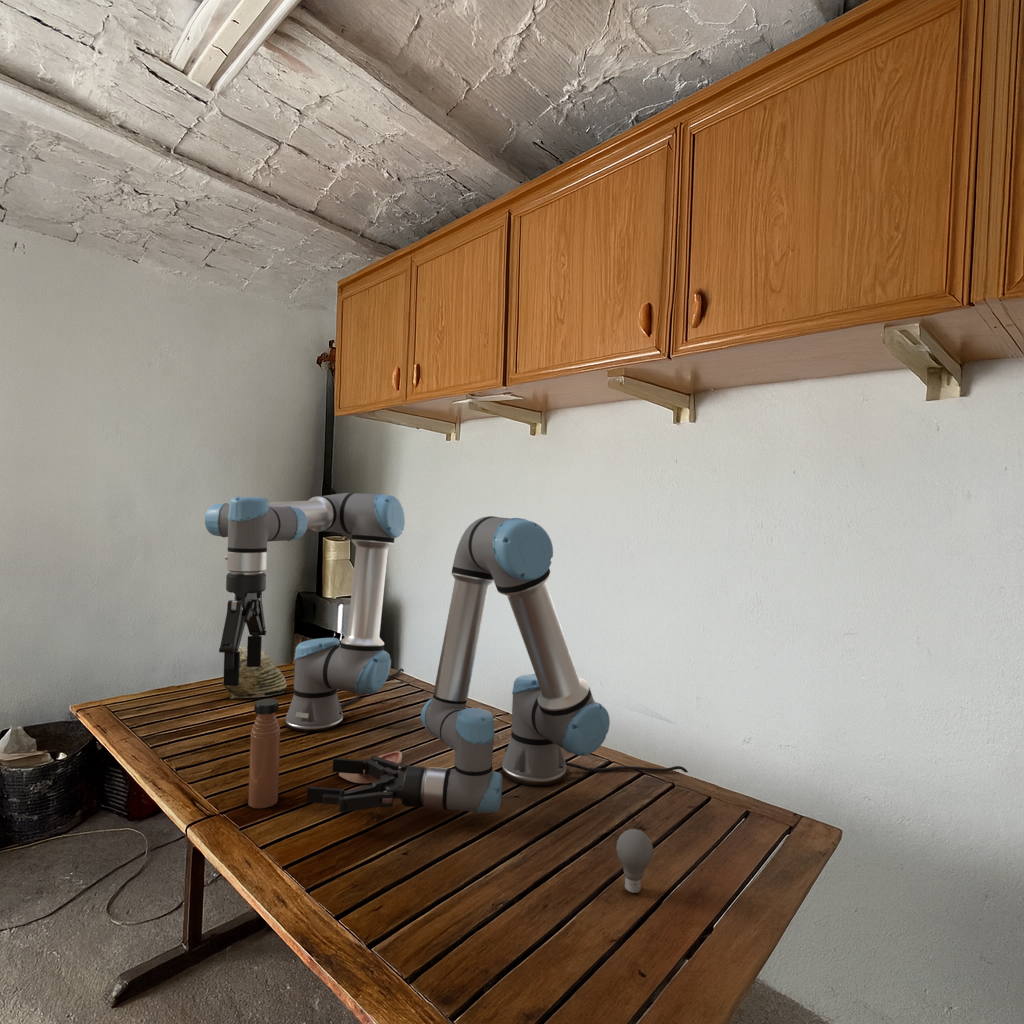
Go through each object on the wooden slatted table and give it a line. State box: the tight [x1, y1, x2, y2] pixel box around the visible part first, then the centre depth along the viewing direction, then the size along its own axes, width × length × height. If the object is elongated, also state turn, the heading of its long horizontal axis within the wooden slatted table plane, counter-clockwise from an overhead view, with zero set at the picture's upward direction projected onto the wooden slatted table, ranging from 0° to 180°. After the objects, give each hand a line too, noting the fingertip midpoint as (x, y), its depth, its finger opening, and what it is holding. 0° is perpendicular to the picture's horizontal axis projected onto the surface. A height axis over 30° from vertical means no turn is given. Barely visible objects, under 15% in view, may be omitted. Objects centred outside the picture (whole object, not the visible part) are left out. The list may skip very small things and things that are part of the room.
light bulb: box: [615, 828, 654, 894], centre depth 106 cm, size 6×6×10 cm
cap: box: [253, 698, 280, 715], centre depth 130 cm, size 5×5×2 cm
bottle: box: [247, 712, 281, 809], centre depth 130 cm, size 6×6×20 cm
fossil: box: [222, 646, 288, 699], centre depth 198 cm, size 9×18×15 cm, turn 132°
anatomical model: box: [338, 750, 403, 784], centre depth 146 cm, size 13×4×12 cm
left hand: (243, 675), depth 130 cm, fingers open, 13 cm apart
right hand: (321, 778), depth 128 cm, fingers open, 13 cm apart
